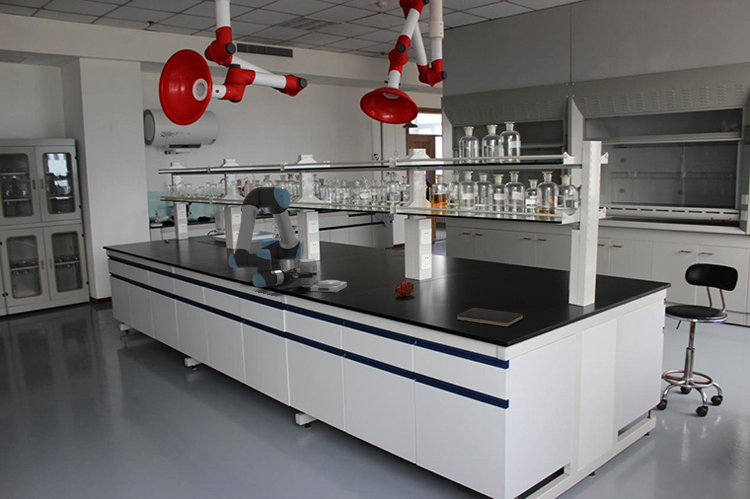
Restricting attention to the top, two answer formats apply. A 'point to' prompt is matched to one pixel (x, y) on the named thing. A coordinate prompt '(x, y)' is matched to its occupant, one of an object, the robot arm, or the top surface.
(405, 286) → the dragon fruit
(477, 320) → the hardcover book
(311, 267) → the supplement tub
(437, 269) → the top surface
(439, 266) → the top surface
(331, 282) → the scale
